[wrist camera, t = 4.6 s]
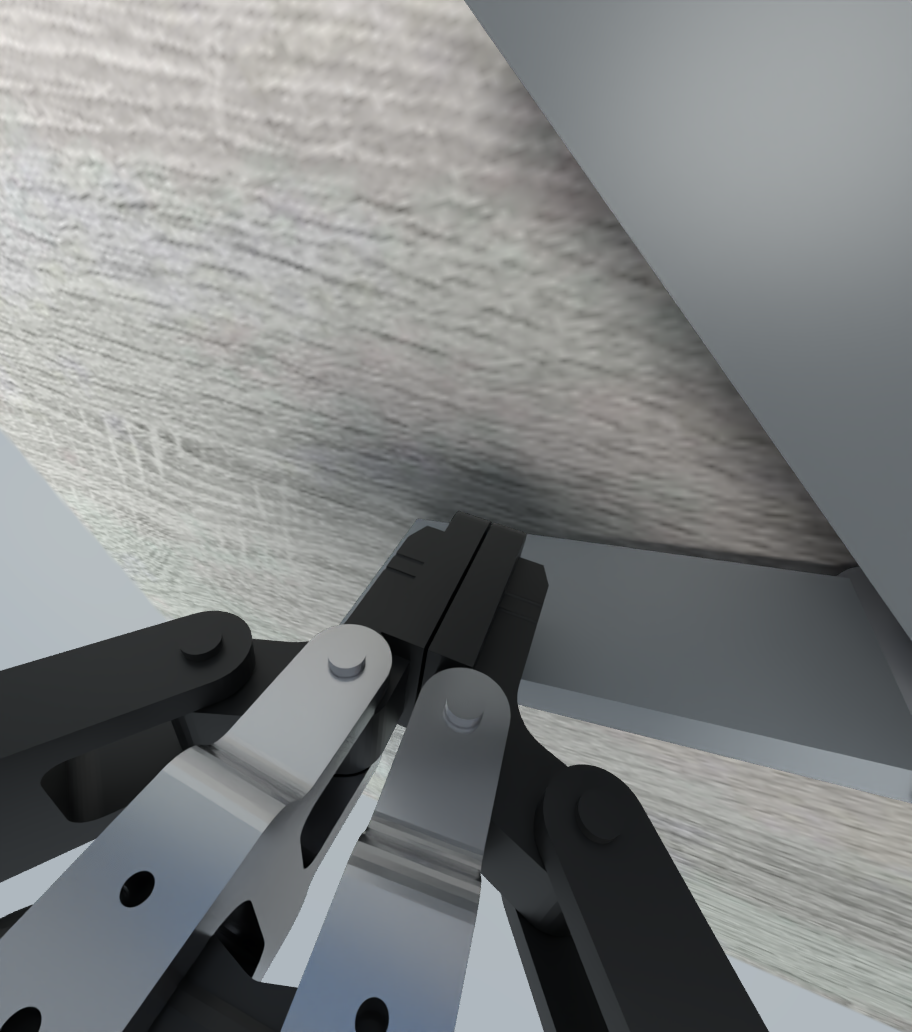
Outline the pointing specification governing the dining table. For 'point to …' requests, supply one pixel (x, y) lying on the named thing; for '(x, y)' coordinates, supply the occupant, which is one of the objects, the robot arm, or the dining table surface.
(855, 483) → the camera body
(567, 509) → the dining table surface
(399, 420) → the dining table surface
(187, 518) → the dining table surface
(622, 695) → the side door
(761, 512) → the dining table surface
